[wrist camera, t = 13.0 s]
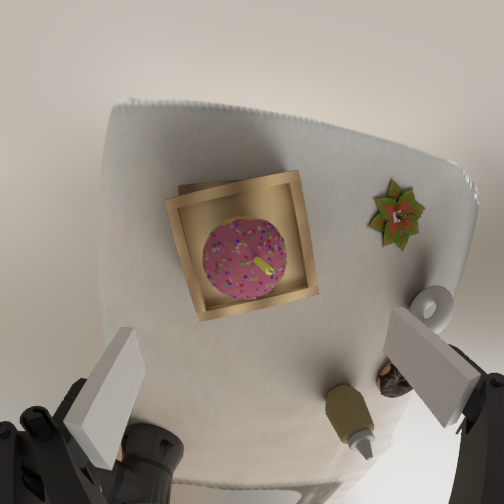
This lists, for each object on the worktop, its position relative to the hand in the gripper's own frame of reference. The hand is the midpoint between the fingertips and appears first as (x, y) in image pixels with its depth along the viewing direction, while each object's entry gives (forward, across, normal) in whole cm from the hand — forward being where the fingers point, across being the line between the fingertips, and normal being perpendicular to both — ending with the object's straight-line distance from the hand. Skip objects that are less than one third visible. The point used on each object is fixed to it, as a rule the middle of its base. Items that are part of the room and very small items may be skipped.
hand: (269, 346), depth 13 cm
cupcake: (+20, 0, 0) cm, 20 cm away
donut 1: (+29, +32, -32) cm, 54 cm away
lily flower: (+29, +26, +2) cm, 39 cm away
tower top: (+24, 0, 0) cm, 24 cm away
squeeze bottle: (+29, +18, -34) cm, 48 cm away
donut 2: (+29, +32, -14) cm, 45 cm away
